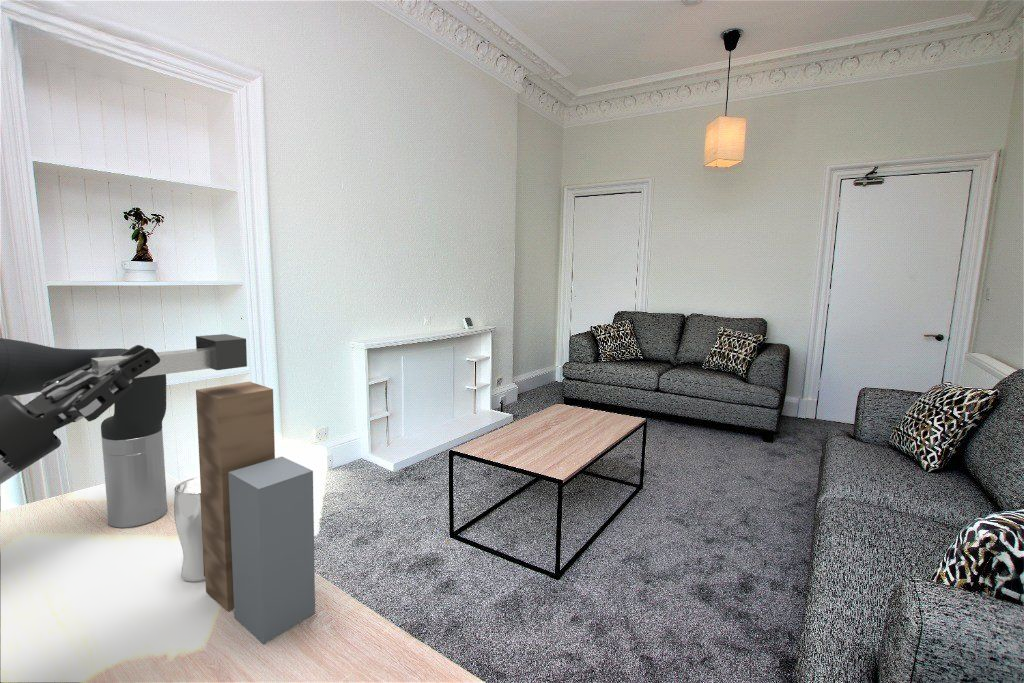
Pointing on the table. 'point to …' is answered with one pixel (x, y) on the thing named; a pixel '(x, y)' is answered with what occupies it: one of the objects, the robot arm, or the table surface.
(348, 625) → the table surface
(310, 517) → the grey tall block
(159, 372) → the blocky hammer
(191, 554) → the beer glass
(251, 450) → the tall wooden post
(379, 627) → the table surface
